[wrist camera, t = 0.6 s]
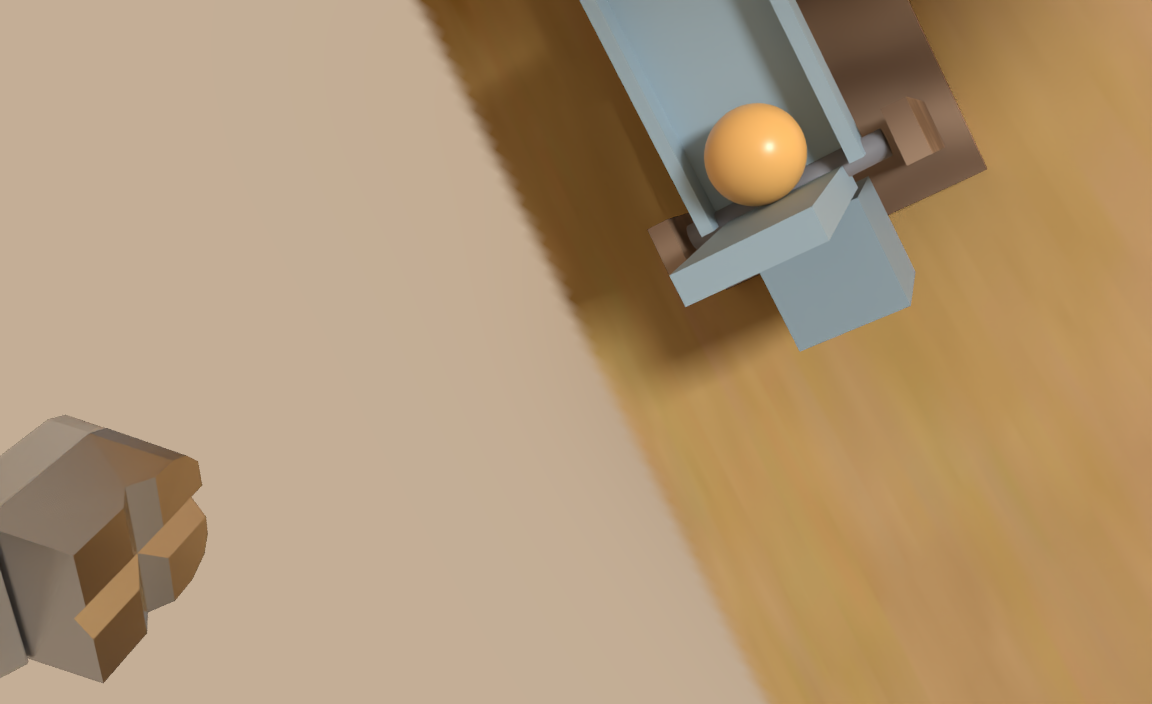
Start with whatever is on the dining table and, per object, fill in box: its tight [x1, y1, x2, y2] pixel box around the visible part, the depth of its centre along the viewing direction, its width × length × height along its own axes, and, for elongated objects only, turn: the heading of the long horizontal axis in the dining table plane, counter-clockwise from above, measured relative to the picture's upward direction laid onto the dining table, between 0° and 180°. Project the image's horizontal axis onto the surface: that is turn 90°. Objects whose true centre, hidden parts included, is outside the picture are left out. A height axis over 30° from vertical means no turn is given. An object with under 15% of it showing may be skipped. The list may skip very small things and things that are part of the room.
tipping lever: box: [580, 0, 915, 351], centre depth 37 cm, size 18×9×16 cm, turn 29°
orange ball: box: [704, 103, 807, 206], centre depth 38 cm, size 4×4×4 cm
